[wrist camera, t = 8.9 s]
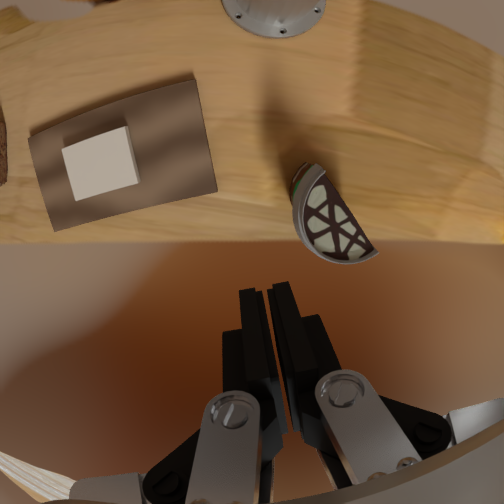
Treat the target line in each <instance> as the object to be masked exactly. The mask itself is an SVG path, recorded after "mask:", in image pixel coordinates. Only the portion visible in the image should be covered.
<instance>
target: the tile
mask: <svg viewBox="0 0 504 504" xmlns="http://www.w3.org/2000/svg"><path fill="white" fill-rule="evenodd" d="M62 154H63V158H64V162H65V165H66V169H67V173H68V177H69V180H70V184H71V187H72V191H73V194H74V197H75V201H78V200H82V199H85V198H88V197H91V196H95V195H98V194H101V193H105V192H108V191H112V190H115V189H119V188H123V187H126V186H130V185H134V184H137V183H139V182H140V181H141V180H140V176H139V172H138V168H137V164H136V160H135V156H134V152H133V147H132V143H131V139H130V134H129V130H128V126H124V127H121V128H118V129H115V130H112V131H109V132H106V133H103V134H100V135H97V136H95V137H92V138H89V139H86V140H84V141H81V142H78V143H76V144H73V145H71V146H68V147H66V148H63V149H62Z"/></svg>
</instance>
